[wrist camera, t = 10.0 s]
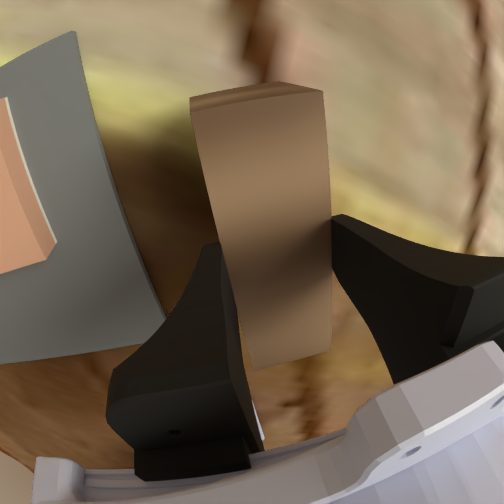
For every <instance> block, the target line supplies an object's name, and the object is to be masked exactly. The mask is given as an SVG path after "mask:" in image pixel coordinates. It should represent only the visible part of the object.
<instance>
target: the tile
mask: <svg viewBox="0 0 504 504" xmlns="http://www.w3.org/2000/svg"><path fill="white" fill-rule="evenodd" d="M56 243H57V240H56V237H55V235H54V233H53V231H52V228H51V226H50V224H49V222H48V219H47V217H46V214H45V212H44V210H43V207H42V205H41V202H40V200H39V197H38V195H37V192H36V189H35V187H34V184H33V181H32V178H31V176H30V173H29V170H28V167H27V164H26V161H25V158H24V155H23V152H22V149H21V146H20V142H19V139H18V136H17V132H16V129H15V125H14V122H13V118H12V114H11V110H10V106H9V102H8V98H7V97H5V98H1V99H0V274H2V273H5V272H8V271H11V270H15V269H18V268H21V267H24V266H27V265H31V264H34V263H37V262H41V261H44V260H46V259H47V258H48V256H49V254H50V253H51V251H52V249H53V248H54V246H55V245H56Z"/></svg>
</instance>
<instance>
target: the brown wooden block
mask: <svg viewBox="0 0 504 504" xmlns="http://www.w3.org/2000/svg"><path fill="white" fill-rule="evenodd" d="M190 116H191V120H192V125H193V129H194V134H195V138H196V143H197V147H198V152H199V156H200V161H201V165H202V169H203V174H204V178H205V182H206V186H207V191H208V195H209V199H210V203H211V208H212V212H213V216H214V220H215V224H216V228H217V232H218V237H219V241H220V244H221V246H222V250H223V254H224V258H225V262H226V266H227V270H228V274H229V278H230V282H231V286H232V290H233V294H234V298H235V303H236V307H237V311H238V315H239V319H240V323H241V327H242V330H243V334H244V338H245V342H246V345H247V349H248V353H249V356H250V360H251V364H252V367H253V371H255V370H259V369H263V368H267V367H271V366H275V365H279V364H283V363H286V362H290V361H294V360H298V359H301V358H305V357H308V356H312V355H315V354H319V353H322V352H325V351H329V350H331V333H332V243H331V195H330V175H329V159H328V145H327V132H326V121H325V110H324V100H323V91H321V90H317V89H313V88H308V87H304V86H299V85H295V84H290V83H285V82H280V81H279V82H271V83H264V84H257V85H251V86H245V87H239V88H233V89H228V90H223V91H218V92H213V93H208V94H203V95H199V96H194V97H190Z"/></svg>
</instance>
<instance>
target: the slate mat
mask: <svg viewBox="0 0 504 504" xmlns="http://www.w3.org/2000/svg"><path fill="white" fill-rule="evenodd" d="M5 97H7V98H8V102H9V106H10V110H11V114H12V118H13V122H14V125H15V129H16V132H17V136H18V139H19V142H20V146H21V149H22V152H23V155H24V158H25V161H26V164H27V167H28V170H29V173H30V176H31V178H32V181H33V184H34V187H35V189H36V192H37V195H38V197H39V200H40V202H41V205H42V207H43V210H44V212H45V214H46V217H47V219H48V222H49V224H50V226H51V228H52V231H53V233H54V235H55V237H56V240H57V243H56V245H55V246H54V248H53V249H52V251H51V253H50V254H49V256H48V258H47V259H46V260H44V261H41V262H37V263H34V264H31V265H27V266H24V267H21V268H18V269H15V270H11V271H8V272H5V273H2V274H0V364H5V363H15V362H23V361H32V360H40V359H47V358H55V357H62V356H69V355H76V354H82V353H89V352H95V351H101V350H107V349H113V348H119V347H125V346H130V345H136V344H141V343H145V342H146V341H147V340H148V339H149V338H150V337H151V336H152V335H153V334H154V333H155V332H156V331H157V330H158V328H159V327H160V326H161V325H162V324H163V322H164V321H165V320H166V319H167V318H166V316H165V313H164V311H163V309H162V306H161V304H160V302H159V300H158V297H157V295H156V293H155V290H154V288H153V285H152V283H151V281H150V278H149V276H148V273H147V271H146V268H145V266H144V263H143V261H142V258H141V256H140V253H139V251H138V248H137V246H136V243H135V240H134V238H133V235H132V232H131V230H130V227H129V224H128V221H127V219H126V216H125V213H124V210H123V207H122V204H121V201H120V199H119V196H118V193H117V190H116V187H115V184H114V180H113V177H112V174H111V171H110V168H109V165H108V161H107V158H106V155H105V152H104V148H103V145H102V141H101V138H100V134H99V131H98V127H97V123H96V120H95V116H94V112H93V108H92V104H91V100H90V96H89V92H88V88H87V84H86V79H85V75H84V70H83V66H82V61H81V56H80V51H79V46H78V41H77V35H76V32H75V31H70V32H68V33H66V34H63V35H61V36H59V37H57V38H54V39H52V40H50V41H48V42H46V43H44V44H42V45H40V46H38V47H36V48H34V49H32V50H30V51H28V52H26V53H24V54H22V55H21V56H19V57H17V58H15V59H13V60H12V61H10V62H8V63H6V64H5V65H3V66H1V67H0V99H1V98H5Z"/></svg>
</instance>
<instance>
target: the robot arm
mask: <svg viewBox="0 0 504 504" xmlns="http://www.w3.org/2000/svg"><path fill="white" fill-rule="evenodd" d="M331 243H332V269H333V271H334V273H335V275H336V277H337V279H338V281H339V283H340V284H341V286H342V287H343V289H344V290H345V292H346V293H347V295H348V296H349V298H350V299H351V301H352V302H353V304H354V305H355V307H356V308H357V310H358V311H359V313H360V314H361V316H362V317H363V319H364V320H365V322H366V324H367V325H368V327H369V329H370V331H371V333H372V335H373V337H374V339H375V341H376V343H377V345H378V347H379V349H380V352H381V354H382V356H383V358H384V361H385V363H386V365H387V368H388V370H389V373H390V375H391V378H392V381H393V383H394V385H393V386H391V387H389V388H387V389H385V390H384V391H382V392H380V393H378V394H376V395H374V396H373V397H372V398H370V399H369V400H368V401H367V402H365V403H364V404H363V405H362V406H360V407H359V408H358V409H357V410H356V412H355V413H354V415H353V416H352V418H351V419H350V421H349V423H348V425H347V427H346V428H344V429H341V430H338V431H335V432H332V433H329V434H326V435H323V436H319V437H316V438H313V439H309V440H306V441H302V442H299V443H295V444H291V445H288V446H284V447H280V448H276V449H271V450H267V451H265V450H264V447H263V443H262V440H264V434H263V431H262V428H261V425H260V423H259V420H258V417H257V414H256V411H255V408H254V405H253V402H252V399H251V395H250V391H249V386H248V382H247V378H246V374H245V369H244V364H243V358H242V350H241V342H240V333H239V324H238V315H237V307H236V303H235V298H234V294H233V290H232V286H231V282H230V278H229V274H228V270H227V266H226V262H225V258H224V254H223V250H222V246H221V244H220V242H217V243H213V244H209V245H205V246H204V247H203V248H202V251H201V254H200V257H199V260H198V263H197V265H196V268H195V270H194V272H193V275H192V277H191V279H190V281H189V283H188V285H187V287H186V289H185V291H184V293H183V295H182V296H181V298H180V300H179V301H178V303H177V305H176V306H175V308H174V309H173V311H172V312H171V313H170V315H169V316H168V317H167V319H166V320H165V321H164V322H163V324H162V325H161V326H160V327H159V328H158V330H157V331H156V332H155V333H154V334H153V335H152V336H151V337H150V338H149V339H148V340H147V341H146V342H145V343H144V344H143V345H142V346H141V347H140V348H139V349H138V350H137V351H136V352H134V353H133V354H132V355H131V356H130V357H128V358H127V359H126V360H125V361H123V362H122V363H121V364H120V365H118V366H117V367H116V368H114V369H113V372H112V376H111V380H110V384H109V389H108V397H107V406H106V420H107V423H108V424H109V425H110V427H111V428H112V429H113V430H114V431H115V432H116V433H117V434H118V435H119V436H120V437H121V438H122V439H123V440H124V441H125V442H127V443H128V444H129V445H130V446H131V447H132V448H133V449H134V469H110V470H98V469H84V468H83V467H82V466H80V465H79V464H78V463H76V462H75V461H73V460H70V459H67V458H58V457H43V456H38V457H36V464H35V471H34V479H33V488H32V498H31V504H504V257H488V256H476V255H468V254H461V253H455V252H450V251H445V250H440V249H436V248H432V247H428V246H425V245H422V244H418V243H415V242H412V241H409V240H406V239H403V238H401V237H398V236H395V235H393V234H390V233H388V232H385V231H383V230H381V229H378V228H376V227H374V226H371V225H369V224H367V223H364V222H362V221H360V220H357V219H355V218H352V217H350V216H347V215H344V214H340V215H336V216H331Z"/></svg>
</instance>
